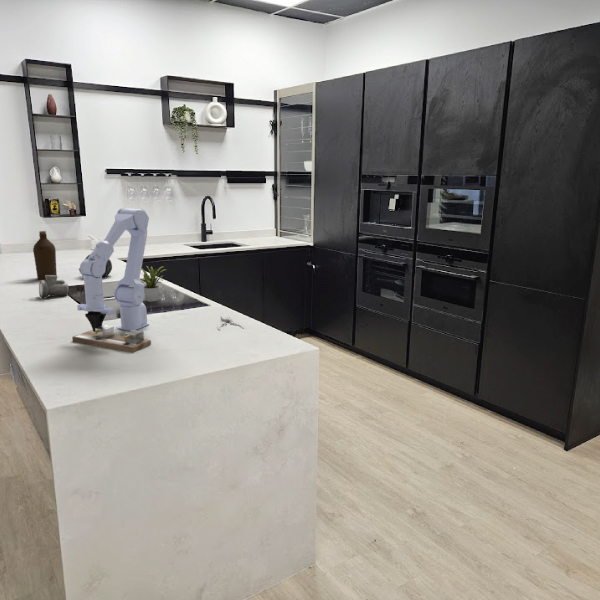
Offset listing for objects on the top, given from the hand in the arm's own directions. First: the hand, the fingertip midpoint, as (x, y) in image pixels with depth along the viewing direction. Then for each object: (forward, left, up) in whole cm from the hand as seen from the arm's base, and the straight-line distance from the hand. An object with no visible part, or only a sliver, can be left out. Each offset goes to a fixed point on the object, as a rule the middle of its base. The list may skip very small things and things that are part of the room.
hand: (97, 332), depth 182 cm
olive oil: (-67, -99, -3) cm, 119 cm away
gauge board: (+1, +7, -2) cm, 8 cm away
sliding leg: (+1, +3, -1) cm, 4 cm away
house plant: (-54, -18, -3) cm, 57 cm away
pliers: (-36, +31, -3) cm, 48 cm away
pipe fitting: (-39, -63, -3) cm, 74 cm away
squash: (-83, -79, -3) cm, 115 cm away
